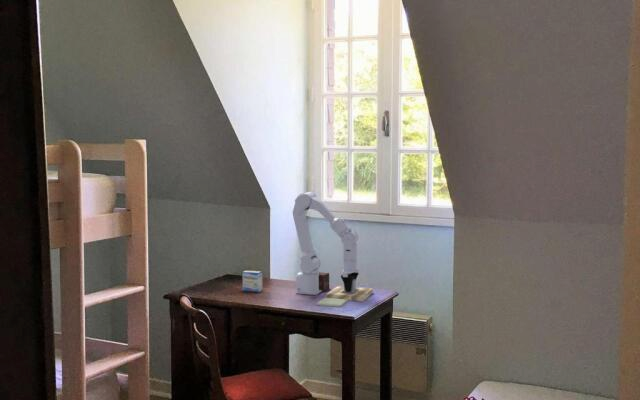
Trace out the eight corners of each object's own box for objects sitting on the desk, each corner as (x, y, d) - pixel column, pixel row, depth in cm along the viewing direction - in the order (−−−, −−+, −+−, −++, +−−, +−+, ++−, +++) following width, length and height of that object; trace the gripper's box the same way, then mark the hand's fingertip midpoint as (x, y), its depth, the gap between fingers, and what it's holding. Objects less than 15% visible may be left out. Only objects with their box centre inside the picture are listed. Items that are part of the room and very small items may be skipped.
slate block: (343, 296, 304) (344, 280, 304) (346, 294, 308) (346, 278, 308) (352, 296, 303) (352, 280, 302) (355, 294, 307) (355, 278, 306)
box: (329, 288, 319) (329, 272, 318) (323, 291, 314) (323, 275, 313) (317, 287, 322) (317, 271, 321) (311, 290, 317) (311, 274, 316)
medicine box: (242, 291, 315) (242, 271, 314) (246, 288, 320) (246, 269, 319) (258, 292, 313) (258, 272, 312) (262, 290, 317) (262, 270, 316)
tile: (316, 305, 289) (316, 303, 289) (324, 299, 299) (324, 297, 299) (340, 307, 286) (340, 305, 286) (347, 301, 296) (347, 299, 296)
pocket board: (326, 298, 301) (326, 293, 301) (337, 290, 316) (337, 286, 316) (362, 301, 296) (362, 296, 295) (372, 293, 311) (372, 288, 310)
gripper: (354, 262, 296) (353, 294, 297) (363, 256, 310) (363, 287, 311) (337, 261, 298) (337, 293, 300) (347, 256, 312) (347, 286, 313)
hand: (349, 290), depth 305 cm, fingers closed on slate block, 4 cm apart
